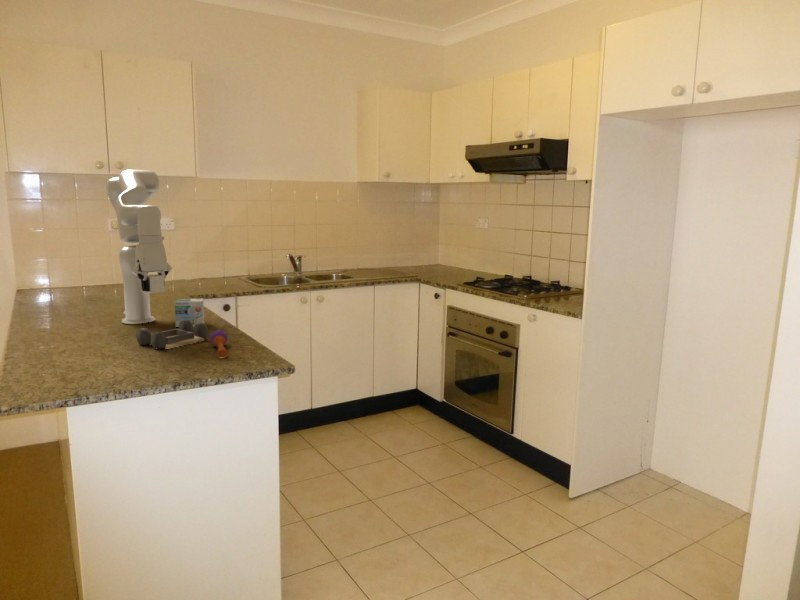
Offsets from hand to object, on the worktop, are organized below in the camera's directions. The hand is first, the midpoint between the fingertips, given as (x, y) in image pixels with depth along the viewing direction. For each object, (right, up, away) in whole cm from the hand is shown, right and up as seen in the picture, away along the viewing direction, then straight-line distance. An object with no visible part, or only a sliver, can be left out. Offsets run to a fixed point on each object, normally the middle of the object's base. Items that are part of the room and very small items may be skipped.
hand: (153, 289), depth 209 cm
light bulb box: (+4, -15, +24) cm, 29 cm away
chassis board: (+8, -19, -2) cm, 20 cm away
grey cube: (0, -1, 0) cm, 1 cm away
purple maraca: (+28, -22, -13) cm, 38 cm away
